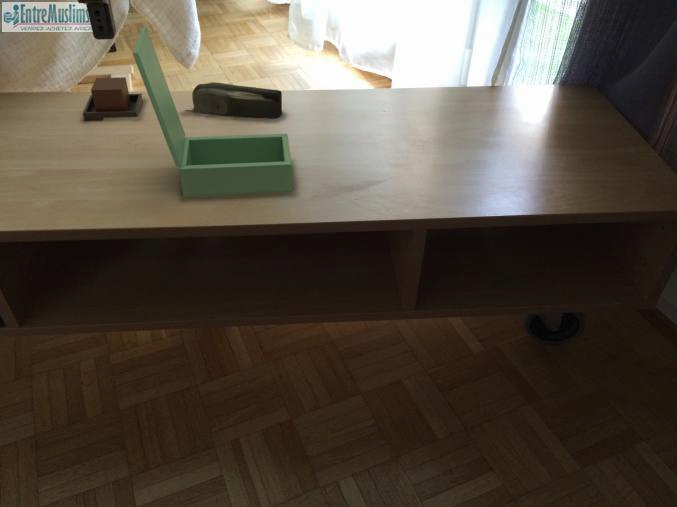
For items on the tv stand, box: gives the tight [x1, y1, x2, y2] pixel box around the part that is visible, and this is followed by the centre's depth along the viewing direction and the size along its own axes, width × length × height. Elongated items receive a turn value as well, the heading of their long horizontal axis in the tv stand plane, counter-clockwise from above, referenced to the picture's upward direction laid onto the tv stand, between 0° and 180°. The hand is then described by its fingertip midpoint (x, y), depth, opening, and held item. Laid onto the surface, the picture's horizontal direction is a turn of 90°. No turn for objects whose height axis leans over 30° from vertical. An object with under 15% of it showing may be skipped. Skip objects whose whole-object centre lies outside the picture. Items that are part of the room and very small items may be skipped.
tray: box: [82, 93, 144, 122], centre depth 95 cm, size 8×6×2 cm
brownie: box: [90, 76, 131, 112], centre depth 93 cm, size 4×4×4 cm
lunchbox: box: [178, 133, 293, 198], centre depth 79 cm, size 14×8×5 cm, turn 97°
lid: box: [132, 26, 186, 167], centre depth 72 cm, size 14×8×1 cm
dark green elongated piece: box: [184, 81, 283, 120], centre depth 94 cm, size 5×3×15 cm
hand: (105, 36), depth 67 cm, fingers closed
